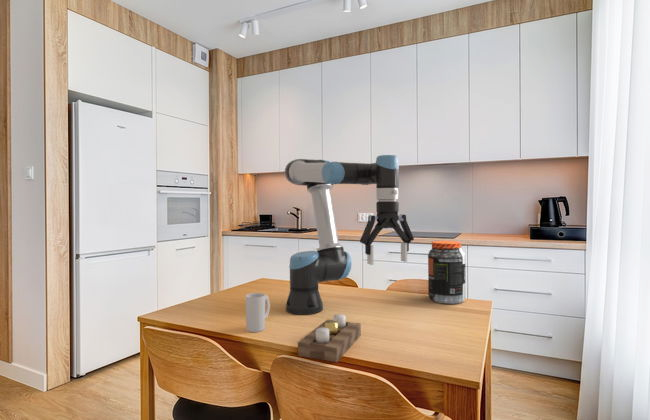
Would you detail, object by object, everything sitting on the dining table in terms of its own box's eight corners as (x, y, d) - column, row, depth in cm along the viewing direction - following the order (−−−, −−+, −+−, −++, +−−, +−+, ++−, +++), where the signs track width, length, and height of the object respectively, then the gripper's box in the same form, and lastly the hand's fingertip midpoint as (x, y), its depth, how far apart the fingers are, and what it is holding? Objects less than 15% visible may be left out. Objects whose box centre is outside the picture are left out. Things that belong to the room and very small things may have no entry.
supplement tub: (473, 301, 166) (473, 242, 166) (450, 307, 158) (450, 244, 157) (443, 293, 180) (443, 239, 179) (420, 299, 171) (420, 241, 170)
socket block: (336, 362, 105) (336, 347, 105) (298, 355, 110) (298, 341, 110) (360, 335, 126) (360, 323, 126) (327, 330, 130) (327, 319, 130)
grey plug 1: (313, 344, 110) (313, 331, 110) (319, 340, 114) (319, 326, 114) (326, 346, 109) (326, 332, 109) (331, 341, 112) (331, 328, 112)
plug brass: (323, 336, 117) (322, 323, 117) (328, 332, 120) (327, 319, 120) (335, 338, 115) (335, 325, 115) (339, 334, 119) (339, 321, 119)
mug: (254, 334, 128) (254, 298, 128) (241, 330, 132) (241, 295, 132) (276, 326, 136) (275, 292, 136) (263, 322, 140) (262, 290, 140)
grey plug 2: (331, 329, 123) (331, 317, 123) (336, 325, 127) (335, 313, 127) (343, 330, 122) (343, 318, 122) (347, 327, 125) (347, 315, 125)
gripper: (360, 201, 121) (361, 267, 122) (424, 200, 131) (423, 261, 132) (349, 201, 128) (350, 263, 129) (410, 200, 138) (410, 258, 139)
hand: (387, 262), depth 131 cm, fingers open, 13 cm apart
